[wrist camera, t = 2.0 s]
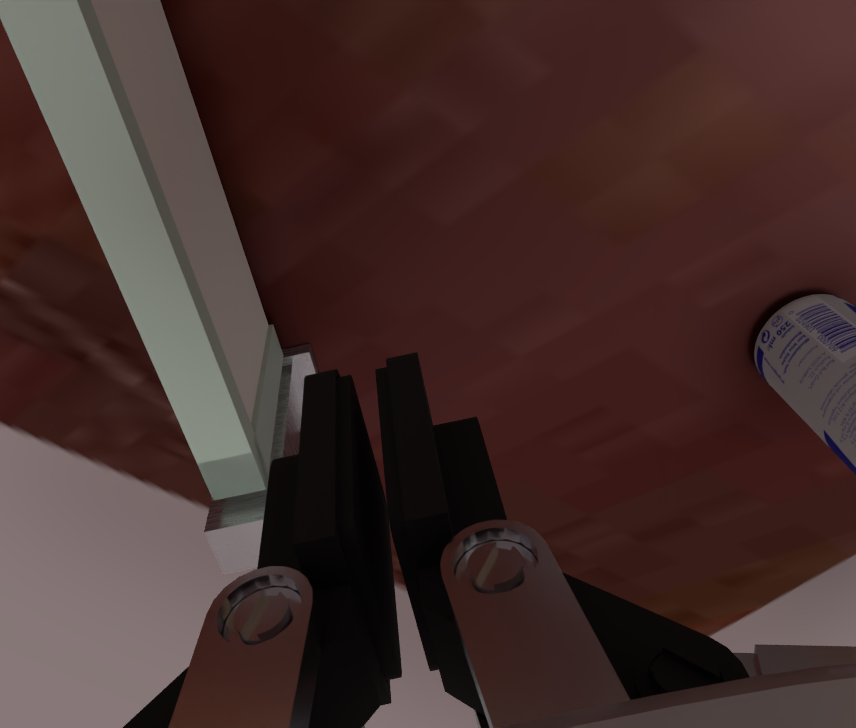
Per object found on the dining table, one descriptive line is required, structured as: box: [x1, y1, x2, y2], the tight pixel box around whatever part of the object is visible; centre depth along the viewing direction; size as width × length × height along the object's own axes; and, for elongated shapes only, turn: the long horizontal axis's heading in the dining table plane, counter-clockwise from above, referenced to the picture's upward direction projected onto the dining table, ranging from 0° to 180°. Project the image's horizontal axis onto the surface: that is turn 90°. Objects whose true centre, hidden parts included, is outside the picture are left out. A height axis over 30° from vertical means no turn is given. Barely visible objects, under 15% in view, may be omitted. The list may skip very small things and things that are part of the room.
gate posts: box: [204, 344, 319, 574], centre depth 23 cm, size 28×4×11 cm, turn 10°
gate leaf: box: [0, 0, 283, 500], centre depth 23 cm, size 20×2×9 cm, turn 10°
